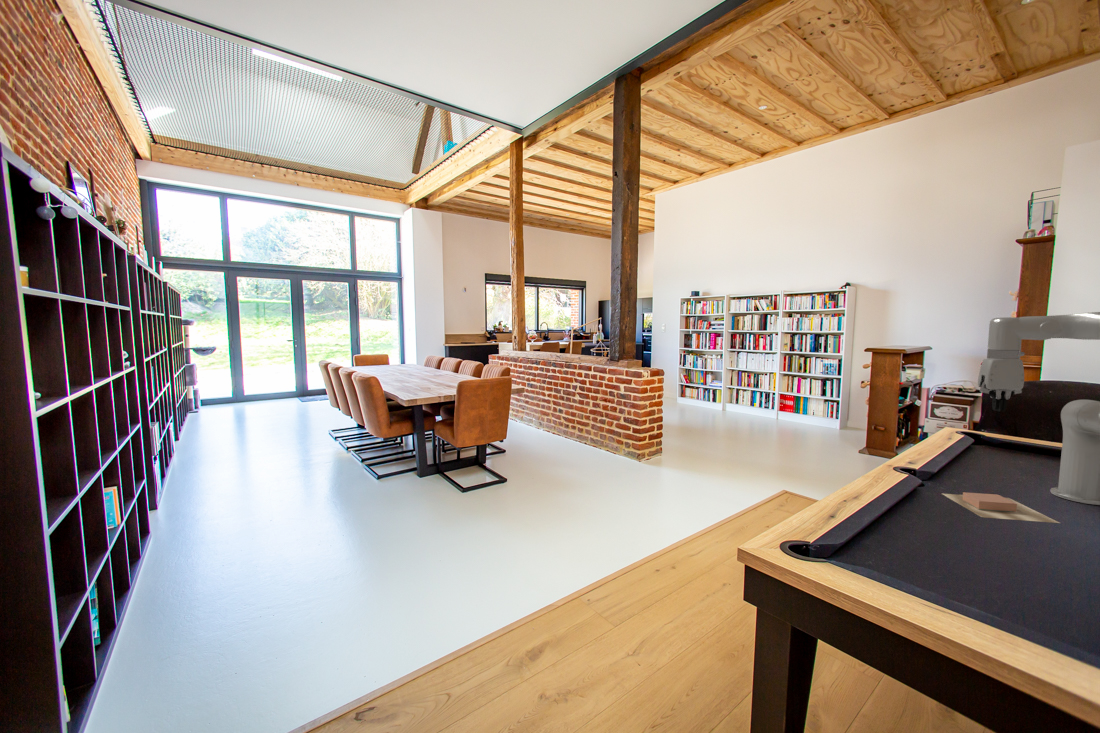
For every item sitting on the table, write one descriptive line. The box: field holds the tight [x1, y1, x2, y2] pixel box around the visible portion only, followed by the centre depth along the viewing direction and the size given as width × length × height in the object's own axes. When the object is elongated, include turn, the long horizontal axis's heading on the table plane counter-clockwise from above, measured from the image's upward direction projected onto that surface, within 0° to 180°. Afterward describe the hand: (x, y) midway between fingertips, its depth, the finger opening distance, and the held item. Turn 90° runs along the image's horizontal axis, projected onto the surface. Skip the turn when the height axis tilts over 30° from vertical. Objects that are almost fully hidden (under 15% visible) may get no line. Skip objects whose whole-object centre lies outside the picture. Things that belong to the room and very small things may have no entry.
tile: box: [962, 491, 1017, 512], centre depth 130 cm, size 3×7×9 cm
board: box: [941, 493, 1061, 524], centre depth 129 cm, size 18×18×1 cm
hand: (998, 410), depth 143 cm, fingers closed
